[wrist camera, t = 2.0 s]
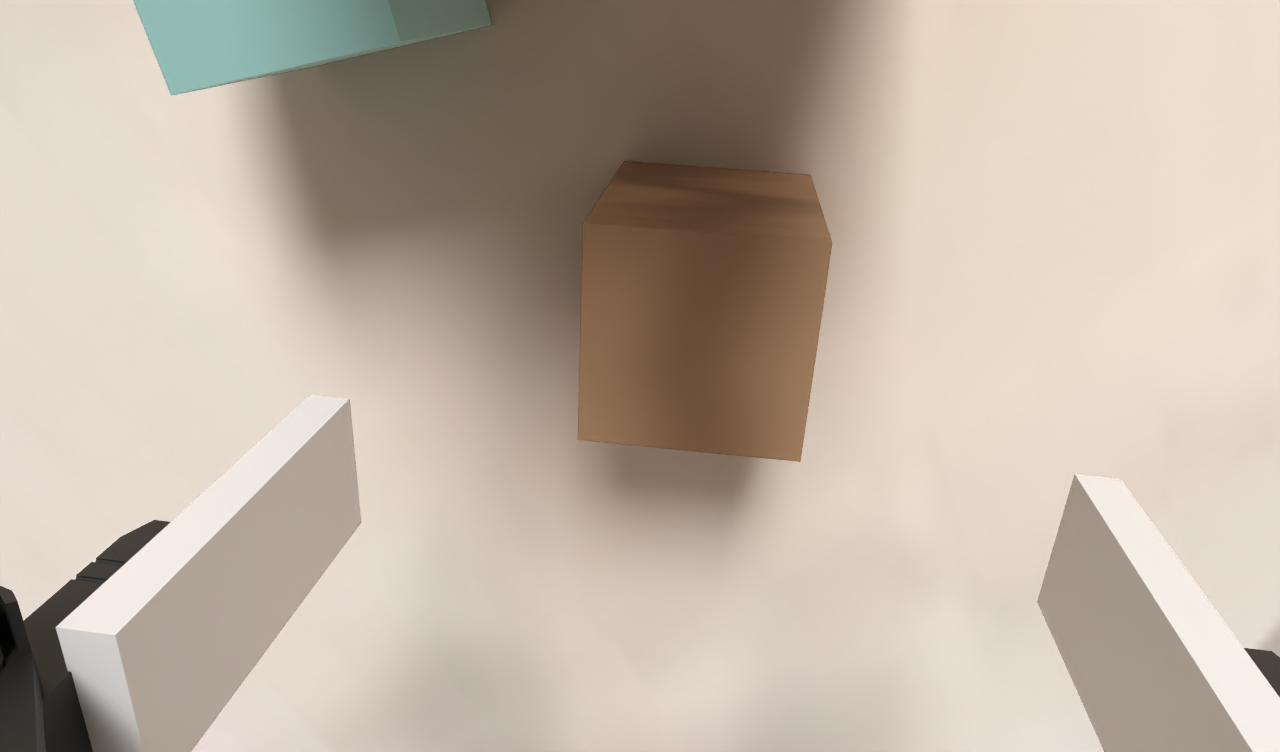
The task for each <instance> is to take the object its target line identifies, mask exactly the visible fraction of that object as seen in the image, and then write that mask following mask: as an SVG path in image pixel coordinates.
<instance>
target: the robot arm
mask: <svg viewBox="0 0 1280 752" xmlns="http://www.w3.org/2000/svg"><path fill="white" fill-rule="evenodd" d="M360 523H361V516H360V505H359V494H358V484H357V473H356V462H355V451H354V440H353V430H352V419H351V408H350V399H348V398H338V397H329V396H319V395H310V396H308V397H307V398H306V399H305V400H304V401H303V402H302V403H301V404H300V405H299V406H298V407H296V408H295V409H294V410H293V411H292V412H291V413H290V414H289V415H288V416H287V417H285V418H284V419H283V420H282V421H281V422H280V423H279V424H278V425H277V426H276V427H275V428H273V429H272V430H271V431H270V432H269V433H268V434H267V435H266V436H265V437H264V438H262V439H261V440H260V441H259V442H258V443H257V444H256V445H255V446H254V447H253V448H251V449H250V450H249V451H248V452H247V453H246V454H245V455H244V456H243V457H242V458H241V459H239V460H238V461H237V462H236V463H235V464H234V465H233V466H232V467H231V468H230V469H228V470H227V471H226V472H225V473H224V474H223V475H222V476H221V477H220V478H219V479H218V480H216V481H215V482H214V483H213V484H212V485H211V486H210V487H209V488H208V489H207V490H205V491H204V492H203V493H202V494H201V495H200V496H199V497H198V498H197V499H196V500H194V501H193V502H192V503H191V504H190V505H189V506H188V507H187V508H186V509H185V510H184V511H182V512H181V513H180V514H179V515H178V516H177V517H176V518H175V519H174V520H173V521H171V522H167V521H158V520H153V521H151V522H149V523H147V524H145V525H143V526H141V527H139V528H138V529H136V530H134V531H132V532H130V533H128V534H126V535H124V536H122V537H120V538H119V539H118V540H117V541H116V542H114V543H113V544H112V545H111V546H110V547H109V548H107V549H106V550H105V551H104V552H103V553H102V554H100V555H99V556H98V557H97V558H96V562H91V563H90V564H89V565H88V566H87V567H85V568H84V569H83V570H82V571H81V572H80V573H78V574H77V577H76V579H75V580H70V581H69V582H68V583H67V584H66V585H65V586H63V587H62V588H61V589H60V590H59V591H58V592H57V593H55V594H54V595H53V596H52V597H51V598H50V599H48V600H47V601H46V602H45V603H44V604H43V605H41V606H40V607H39V608H38V609H37V610H36V611H35V612H33V613H32V614H31V615H30V616H29V617H28V618H26V619H25V620H24V621H23V619H22V615H21V612H20V609H19V605H18V602H17V600H16V598H15V596H14V594H13V592H12V591H11V590H9V589H7V588H4V587H2V586H0V752H191V751H192V750H193V748H194V747H195V746H196V744H197V743H198V742H199V740H200V739H201V738H202V736H203V735H204V734H205V732H206V731H207V729H208V728H209V727H210V725H211V724H212V723H213V721H214V720H215V719H216V717H217V716H218V715H219V713H220V712H221V711H222V709H223V708H224V707H225V705H226V704H227V703H228V701H229V700H230V699H231V697H232V696H233V694H234V693H235V692H236V690H237V689H238V688H239V686H240V685H241V684H242V682H243V681H244V680H245V678H246V677H247V676H248V674H249V673H250V672H251V670H252V669H253V668H254V666H255V665H256V663H257V662H258V661H259V659H260V658H261V657H262V655H263V654H264V653H265V651H266V650H267V649H268V647H269V646H270V645H271V643H272V642H273V641H274V639H275V638H276V637H277V635H278V634H279V632H280V631H281V630H282V628H283V627H284V626H285V624H286V623H287V622H288V620H289V619H290V618H291V616H292V615H293V614H294V612H295V611H296V610H297V608H298V607H299V606H300V604H301V603H302V601H303V600H304V599H305V597H306V596H307V595H308V593H309V592H310V591H311V589H312V588H313V587H314V585H315V584H316V583H317V581H318V580H319V579H320V577H321V576H322V575H323V573H324V572H325V570H326V569H327V568H328V566H329V565H330V564H331V562H332V561H333V560H334V558H335V557H336V556H337V554H338V553H339V552H340V550H341V549H342V548H343V546H344V545H345V544H346V542H347V541H348V539H349V538H350V537H351V535H352V534H353V533H354V531H355V530H356V529H357V527H358V526H359V525H360ZM1037 602H1038V605H1039V607H1040V609H1041V611H1042V613H1043V616H1044V618H1045V620H1046V622H1047V625H1048V627H1049V629H1050V631H1051V634H1052V636H1053V638H1054V640H1055V642H1056V645H1057V647H1058V649H1059V651H1060V654H1061V656H1062V658H1063V660H1064V663H1065V665H1066V667H1067V669H1068V672H1069V674H1070V676H1071V678H1072V680H1073V683H1074V685H1075V687H1076V689H1077V692H1078V694H1079V696H1080V698H1081V701H1082V703H1083V705H1084V707H1085V709H1086V712H1087V714H1088V716H1089V718H1090V721H1091V723H1092V725H1093V727H1094V730H1095V732H1096V734H1097V736H1098V738H1099V741H1100V743H1101V745H1102V747H1103V750H1104V752H1280V657H1278V656H1277V655H1276V654H1275V653H1273V652H1272V651H1265V650H1256V649H1248V648H1243V646H1242V645H1241V644H1240V642H1239V641H1238V640H1237V638H1236V637H1235V635H1234V634H1233V633H1232V631H1231V630H1230V629H1229V627H1228V626H1227V624H1226V623H1225V622H1224V620H1223V619H1222V618H1221V616H1220V615H1219V613H1218V612H1217V611H1216V609H1215V608H1214V607H1213V605H1212V604H1211V602H1210V601H1209V600H1208V598H1207V597H1206V596H1205V594H1204V593H1203V591H1202V590H1201V589H1200V587H1199V586H1198V585H1197V583H1196V582H1195V580H1194V579H1193V578H1192V576H1191V575H1190V574H1189V572H1188V571H1187V570H1186V568H1185V567H1184V565H1183V564H1182V563H1181V561H1180V560H1179V559H1178V557H1177V556H1176V554H1175V553H1174V552H1173V550H1172V549H1171V548H1170V546H1169V545H1168V543H1167V542H1166V541H1165V539H1164V538H1163V537H1162V535H1161V534H1160V532H1159V531H1158V530H1157V528H1156V527H1155V526H1154V524H1153V523H1152V521H1151V520H1150V519H1149V517H1148V516H1147V515H1146V513H1145V512H1144V510H1143V509H1142V508H1141V506H1140V505H1139V504H1138V502H1137V501H1136V499H1135V498H1134V497H1133V495H1132V494H1131V493H1130V491H1129V490H1128V488H1127V487H1126V486H1125V484H1124V483H1123V482H1122V480H1121V479H1117V478H1108V477H1098V476H1088V475H1079V474H1075V475H1074V478H1073V481H1072V485H1071V488H1070V492H1069V495H1068V499H1067V502H1066V505H1065V509H1064V512H1063V516H1062V519H1061V522H1060V526H1059V529H1058V533H1057V536H1056V539H1055V543H1054V546H1053V550H1052V553H1051V557H1050V560H1049V563H1048V567H1047V570H1046V574H1045V577H1044V580H1043V584H1042V587H1041V591H1040V594H1039V597H1038V601H1037Z"/></svg>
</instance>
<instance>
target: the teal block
mask: <svg viewBox="0 0 1280 752" xmlns="http://www.w3.org/2000/svg"><path fill="white" fill-rule="evenodd" d="M133 1H134V4H135V6H136V9H137V11H138V14H139V16H140V19H141V21H142V24H143V26H144V29H145V31H146V34H147V36H148V39H149V41H150V44H151V46H152V49H153V51H154V54H155V56H156V59H157V61H158V64H159V66H160V69H161V71H162V74H163V76H164V79H165V81H166V84H167V86H168V89H169V91H170V94H171V95H176V94H181V93H186V92H191V91H196V90H201V89H206V88H211V87H216V86H221V85H225V84H230V83H235V82H240V81H245V80H250V79H255V78H260V77H265V76H270V75H274V74H279V73H284V72H289V71H294V70H299V69H304V68H309V67H314V66H318V65H323V64H327V63H331V62H336V61H340V60H344V59H348V58H353V57H357V56H361V55H366V54H370V53H374V52H378V51H383V50H387V49H391V48H396V47H400V46H404V45H408V44H413V43H417V42H421V41H426V40H430V39H434V38H438V37H443V36H447V35H451V34H456V33H460V32H464V31H468V30H473V29H477V28H481V27H486V26H490V25H492V24H491V20H490V16H489V13H488V9H487V5H486V1H485V0H133Z"/></svg>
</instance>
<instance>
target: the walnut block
mask: <svg viewBox="0 0 1280 752" xmlns="http://www.w3.org/2000/svg"><path fill="white" fill-rule="evenodd" d="M831 248H832V241H831V238H830V234H829V231H828V228H827V225H826V222H825V219H824V216H823V213H822V209H821V206H820V203H819V200H818V197H817V194H816V191H815V188H814V184H813V181H812V178H811V175H805V174H792V173H778V172H764V171H751V170H737V169H723V168H710V167H696V166H682V165H669V164H655V163H641V162H628V161H624V162H623V164H622V165H621V167H620V168H619V170H618V171H617V173H616V174H615V176H614V177H613V179H612V180H611V182H610V183H609V185H608V186H607V188H606V189H605V191H604V192H603V194H602V195H601V197H600V198H599V200H598V201H597V203H596V204H595V206H594V207H593V209H592V210H591V212H590V213H589V215H588V216H587V218H586V219H585V221H584V222H583V245H582V286H581V327H580V368H579V409H578V440H586V441H596V442H606V443H616V444H626V445H636V446H646V447H656V448H667V449H677V450H687V451H697V452H707V453H717V454H727V455H738V456H748V457H758V458H768V459H778V460H788V461H798V462H800V461H801V454H802V447H803V440H804V433H805V426H806V419H807V413H808V406H809V399H810V392H811V385H812V378H813V371H814V364H815V358H816V351H817V344H818V337H819V330H820V323H821V316H822V309H823V303H824V296H825V289H826V282H827V275H828V268H829V261H830V254H831Z"/></svg>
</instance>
